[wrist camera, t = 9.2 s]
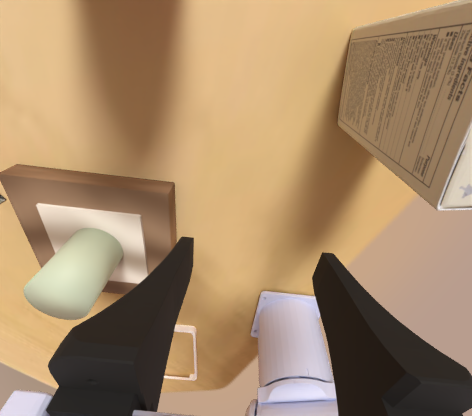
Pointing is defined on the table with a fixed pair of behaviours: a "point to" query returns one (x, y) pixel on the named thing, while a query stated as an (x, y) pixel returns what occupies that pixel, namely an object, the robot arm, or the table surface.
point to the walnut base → (95, 215)
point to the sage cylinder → (75, 275)
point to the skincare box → (415, 99)
